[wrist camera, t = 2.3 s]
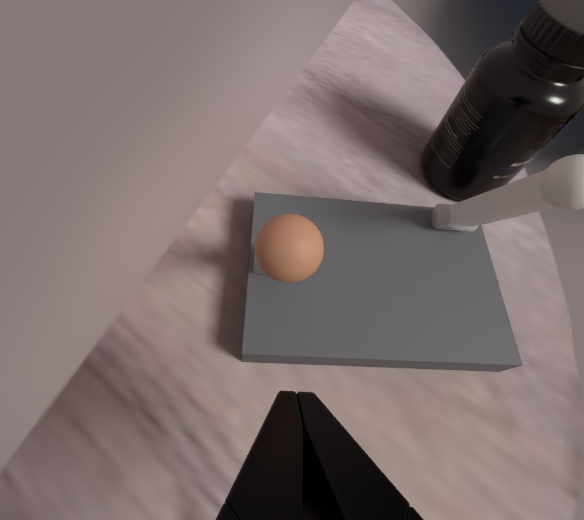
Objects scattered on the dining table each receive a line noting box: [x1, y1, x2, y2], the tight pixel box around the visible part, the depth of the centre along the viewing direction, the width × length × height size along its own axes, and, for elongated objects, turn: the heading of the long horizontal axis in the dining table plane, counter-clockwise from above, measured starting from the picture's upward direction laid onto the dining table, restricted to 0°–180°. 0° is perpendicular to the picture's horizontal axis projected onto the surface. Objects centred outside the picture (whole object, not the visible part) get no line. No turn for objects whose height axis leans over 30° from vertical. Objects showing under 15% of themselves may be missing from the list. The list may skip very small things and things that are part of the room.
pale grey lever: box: [431, 154, 584, 232], centre depth 18 cm, size 2×2×10 cm
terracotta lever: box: [253, 214, 324, 283], centre depth 15 cm, size 2×2×10 cm
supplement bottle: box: [421, 0, 584, 201], centre depth 23 cm, size 7×7×12 cm
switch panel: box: [242, 192, 522, 372], centre depth 22 cm, size 10×16×2 cm
